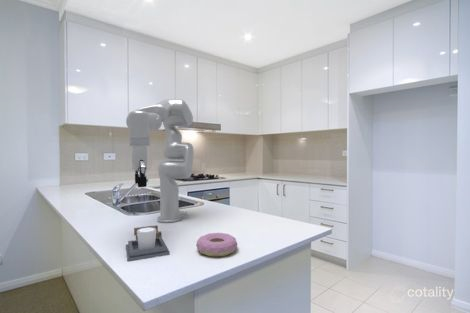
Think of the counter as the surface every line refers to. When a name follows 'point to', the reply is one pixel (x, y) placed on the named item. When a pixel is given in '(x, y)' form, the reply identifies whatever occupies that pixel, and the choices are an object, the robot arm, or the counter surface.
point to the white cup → (146, 238)
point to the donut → (216, 244)
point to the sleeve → (158, 234)
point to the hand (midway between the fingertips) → (140, 184)
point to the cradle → (146, 250)
